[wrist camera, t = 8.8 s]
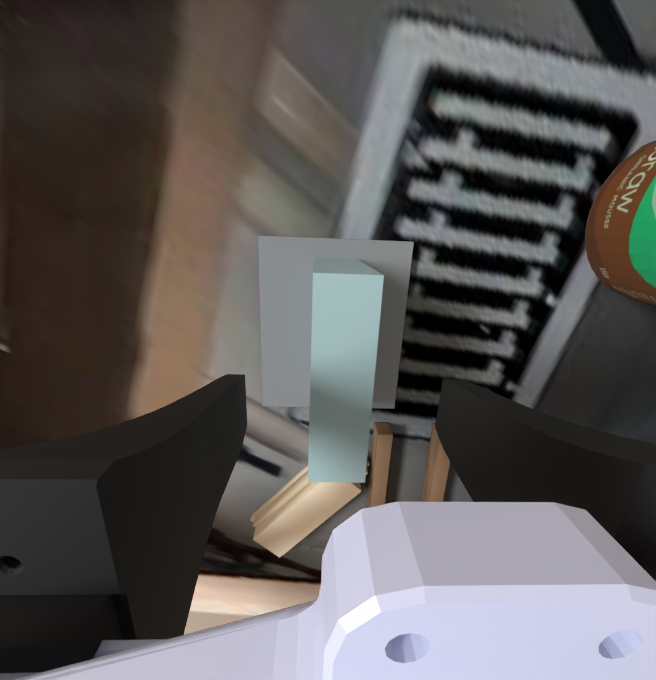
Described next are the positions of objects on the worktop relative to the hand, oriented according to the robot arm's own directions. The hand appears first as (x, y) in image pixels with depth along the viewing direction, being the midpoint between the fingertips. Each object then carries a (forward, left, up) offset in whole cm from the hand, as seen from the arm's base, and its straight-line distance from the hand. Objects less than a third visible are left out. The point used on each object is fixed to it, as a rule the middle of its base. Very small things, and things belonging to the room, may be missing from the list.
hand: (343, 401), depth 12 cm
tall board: (0, 0, -9) cm, 9 cm away
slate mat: (0, 0, -10) cm, 10 cm away
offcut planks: (-1, -13, -10) cm, 16 cm away
